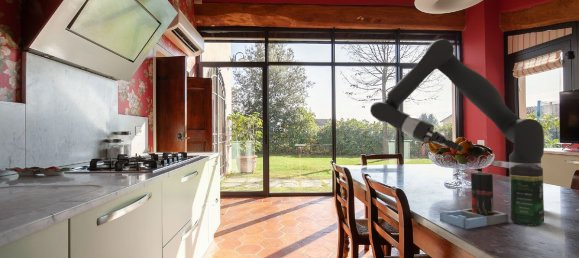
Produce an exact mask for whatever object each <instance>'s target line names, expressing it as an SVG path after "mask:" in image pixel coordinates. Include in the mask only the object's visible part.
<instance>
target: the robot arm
mask: <svg viewBox="0 0 579 258" xmlns="http://www.w3.org/2000/svg"><path fill="white" fill-rule="evenodd" d="M454 50H455V47H454V44H453V43H452V42H451V41H450V40H449V39H445V38H441V39H440V38H439V39H436V40H434V41H432V43H430V45H428V47H427V48H426V51H425V53H424V55H423V56H422V57H421V59H420V60H419V61H418V62H417V64H415V66H413V68H411V69H410V70H409V72H407V73H406V74H405V75H404V76H402V78H401V79H400V80H398V82H396V84H395V85H394V86H393V87H392V88H391V89H390V90H389V91H388V93H387V95H386V97H387V98H386V100H385V101H384V102H383V101H376V102H374V103H372V104H371V106H370V115H372V117H373V118H375V119H376V120H377V121H379V122H381V123H382V122H383V123H384V122H385V123H387V124H388V125H390V126H391V127H393V128H395V129H396V130H398V131H401V132H402V133H404V134H406V135H408V136H409V137H411V138H413V139H416V140H418V141H420V142H422V143H427V141H428V140H429V139H430V142H432V143H434V144H438V145H441V146H443V147H447V148H451V149H453V150H454V151H458V152H460V153H462V152H463V150H464V148H465V147H464V146H463V145H461V144H459V143H458V142H455V141H453V140H451V139H449V138H450V137H447V136H445V135H444V134H442V133H440V132H438V131H435V132H434V130H435V126H434V124H432V123H431V122H428V121H426V120H423V119H421V118H419V117H417V116H413V115H411V114H408V113H407V112H403V111H401V110H399V108H400V107H401V105H402V104H403V102H404V101H406V100H407V99H408V98H409V97H410V95H412V94H413V92H414V91H415V90H416V89H417V88H418V87H419V86H420V85H421V84H422V82H424V80H425V79H426V78H428V77H429V75H431V74H432V73H433V72H434V71H435V70H436V69H437V70H438V71H439V72H441V73H442V74H443V75H444V76H446V78H448V80H450V82H451V83H452V84H453V85H454V86H455V87H456V88H457V89H458V91H460V93H461V94H462V95H463V96H464V97H466V98H467V99H468V100H469V102H471V103H472V104H473V105H474V106H475V107H476V108H477V109H479V111H480V112H482V113H483V115H485V116H486V117H487V118H488V119H490V121H491V122H492V123H493V124H494V125H495V126H496V128H497V129H498V130H499V131H500V132H501V134H503V136H504V137H505V138H506V140H508V141H509V142H512V143H513V151H512V152H511V153H510V154H509V156H508V157H509V158H508V159H509V161H508V163H509V169H510V167H512V166H515V165H519V164H523V163H530V164H537V165H538V166H540V167H542V158H543V156H544V152H545V133H544V132H545V131H544V127H543V125H542V123H540V122H539V121H538V120H536V119H532V118H520V117H519V116H518V115H517V114H515V112H513V111H512V110H511V109H509V107H508V106H507V105H506V103H505V101H504V99H503V97H502V95H501V94H500V91H499V90H498V89H497V88H496V86H495V85H493V83H491V82H490V81H489V80H488V79H487V78H486V77H485V76H483V75H482V74H481V73H479V72H477V71H476V70H474V69H472V68H470V67H469V66H468V65H467V66H466V65H465V64H464V63H463V62H461V60H459V59H458V58H457V56H456V55H455V54H454V53H455V51H454ZM509 186H510V185H509ZM509 191H510V192H509V193H510V194H509V195H510V197H511V186H510V187H509ZM543 200H544V201H545V199H544V198H543Z"/></svg>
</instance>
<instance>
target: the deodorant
mask: <svg viewBox="0 0 579 258" xmlns="http://www.w3.org/2000/svg"><path fill="white" fill-rule="evenodd" d="M493 177H494V176H493V173H489V172H471V173H470V186H471V187H470V188H471V189H470V190H471V209H472V213H475V214H479V215H483V216H490V215H494V211H495V210H494V185H493V184H494V183H493V180H494V179H493Z"/></svg>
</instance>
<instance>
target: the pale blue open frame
mask: <svg viewBox="0 0 579 258" xmlns="http://www.w3.org/2000/svg"><path fill="white" fill-rule="evenodd" d="M508 214H509V213H506V212H500V211H496V210H494V215H490V216H483V215H479V214H475V213H472V208H465V209H458V210H450V211H447V210H441V212H439V221H440V222H444V223H446V224H450V225H453V226H456V227H458V228H459V227H460V228H462V229H466V230H468V229H473V228H480V227H486V226H491V225H492V226H493V225H497V224H504V223H508V222H509V215H508Z"/></svg>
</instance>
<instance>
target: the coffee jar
mask: <svg viewBox="0 0 579 258" xmlns="http://www.w3.org/2000/svg"><path fill="white" fill-rule="evenodd" d="M509 186H511V196H510V220H511V222H515V223H517V224H520V225H523V226H535V227H537V226H541V225H543V224H544V223H545V204H544V203H545V202H544V201H545V199H544V169H543V167H542V166H541V167H540V166H538V165H537V164H530V163H523V164H519V165H515V166H512V167H510V168H509ZM543 199H544V200H543Z"/></svg>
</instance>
